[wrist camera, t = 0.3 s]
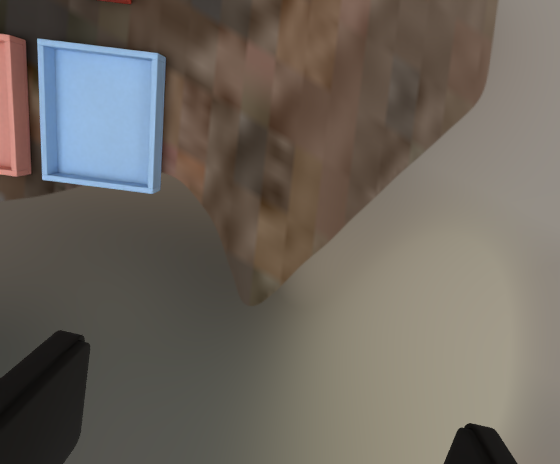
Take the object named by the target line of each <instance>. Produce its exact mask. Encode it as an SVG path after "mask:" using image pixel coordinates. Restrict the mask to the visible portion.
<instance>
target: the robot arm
mask: <svg viewBox="0 0 560 464" xmlns="http://www.w3.org/2000/svg"><path fill="white" fill-rule="evenodd" d="M89 354H90V344H89V343H86V342H85V340H84V336H82V335H79V334H74V333H70V332H66V331H61V330H60V331H57V332H55V333H54V334H53V335H52V336H51V337H49V338H48V339H47V340H46V341H45V342H43V343H42V344H41V345H40V346H39V347H37V348H36V349H35V350H34V351H33V352H32V353H30V354H29V355H28V356H27V357H26V358H24V359H23V360H22V361H21V362H20V363H19V364H17V365H16V366H15V367H14V368H12V369H11V370H10V371H9V372H8V373H7V374H5V375H4V376H3V377H2V378H0V464H63V463H64V462H65V460H66V459H67V458H68V456H69V455H70V453H71V452H72V450H73V449H74V447H75V446H76V444H77V442H78V439H79V436H80V433H81V425H82V415H83V407H84V398H85V389H86V380H87V371H88V363H89ZM444 464H517V462H516V461H515V459H514V458H513V456H512V455H511V453H510V452H509V450H508V448H507V447H506V445H505V444H504V442H503V441H502V439H501V438H500V436H499V434H498V433H497V432H496V431H495V430H494V429H493V428H489V427H485V426H481V425H476V424H471V423H469V424H467V425H466V426H465V427H464V428H460V429H458V431H457V433H456V436H455V438H454V440H453V443H452V445H451V447H450V450H449V452H448V455H447V457H446V460H445V462H444Z"/></svg>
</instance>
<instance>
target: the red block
mask: <svg viewBox="0 0 560 464" xmlns="http://www.w3.org/2000/svg"><path fill="white" fill-rule="evenodd" d="M98 1H107V2H115V3H123V4H131V0H98Z"/></svg>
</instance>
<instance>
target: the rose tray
mask: <svg viewBox="0 0 560 464" xmlns="http://www.w3.org/2000/svg"><path fill="white" fill-rule="evenodd" d="M0 174H1V175H9V176H22V175H28V174H31V151H30V128H29V104H28V81H27V57H26V40H24V39H20V38H17V37H14V36H11V35H6V34H0Z"/></svg>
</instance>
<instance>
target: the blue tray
mask: <svg viewBox="0 0 560 464" xmlns="http://www.w3.org/2000/svg"><path fill="white" fill-rule="evenodd" d="M37 44H38V74H39V102H40V130H41V158H42V174H43V175H42V180H48V181H56V182H64V183H71V184H79V185H87V186H95V187H103V188H111V189H119V190H126V191H134V192H142V193H150V194H153V193H155V192H158V191H160V185H161V162H162V139H163V115H164V91H165V67H166V57H164V56H162V55H160V54H158V53H152V52H144V51H136V50H128V49H120V48H112V47H103V46H95V45H87V44H79V43H71V42H63V41H55V40H46V39H37Z"/></svg>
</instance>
